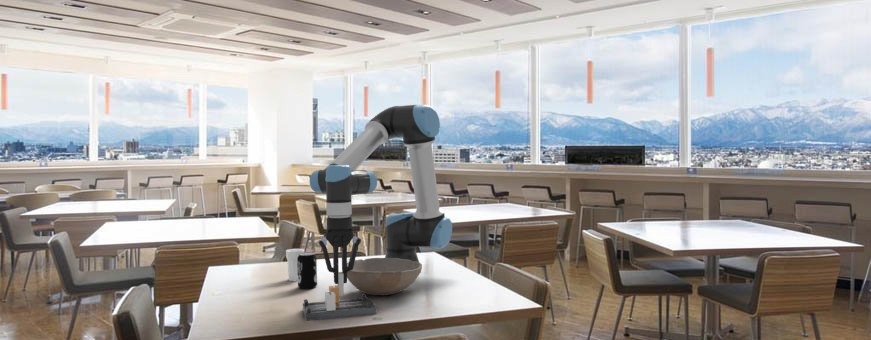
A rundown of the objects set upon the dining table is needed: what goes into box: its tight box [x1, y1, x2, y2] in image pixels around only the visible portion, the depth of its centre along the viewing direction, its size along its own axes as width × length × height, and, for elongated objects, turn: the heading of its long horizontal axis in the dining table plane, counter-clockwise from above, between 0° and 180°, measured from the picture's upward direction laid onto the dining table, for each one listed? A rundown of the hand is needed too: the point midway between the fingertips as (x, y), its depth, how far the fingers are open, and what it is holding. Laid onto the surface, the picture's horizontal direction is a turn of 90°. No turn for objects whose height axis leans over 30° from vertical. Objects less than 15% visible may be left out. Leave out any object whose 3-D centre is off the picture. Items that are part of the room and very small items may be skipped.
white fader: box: [324, 291, 336, 311], centre depth 171 cm, size 2×4×5 cm
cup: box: [285, 248, 305, 282], centre depth 222 cm, size 7×7×11 cm
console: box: [302, 294, 378, 321], centre depth 176 cm, size 20×12×3 cm, turn 107°
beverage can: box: [297, 251, 318, 290], centre depth 208 cm, size 7×7×12 cm
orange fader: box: [328, 284, 340, 303], centre depth 179 cm, size 2×4×5 cm
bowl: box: [347, 257, 423, 296], centre depth 198 cm, size 26×26×10 cm
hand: (340, 294), depth 180 cm, fingers closed
